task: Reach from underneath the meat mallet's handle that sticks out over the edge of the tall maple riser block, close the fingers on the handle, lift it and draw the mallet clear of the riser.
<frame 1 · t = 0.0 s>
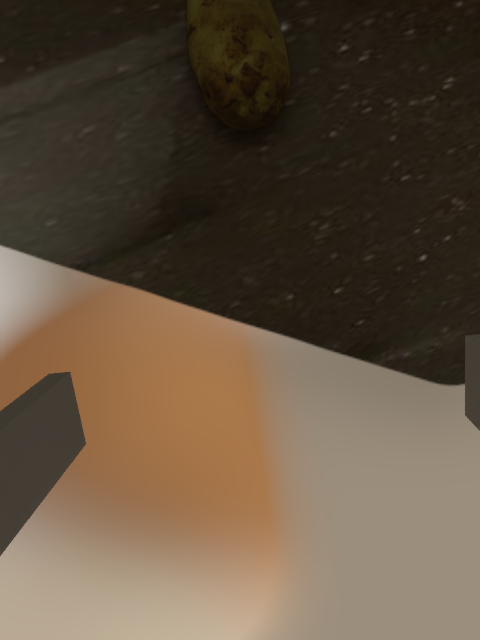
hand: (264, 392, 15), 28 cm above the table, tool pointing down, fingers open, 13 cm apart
potato: (241, 57, 38), on the table
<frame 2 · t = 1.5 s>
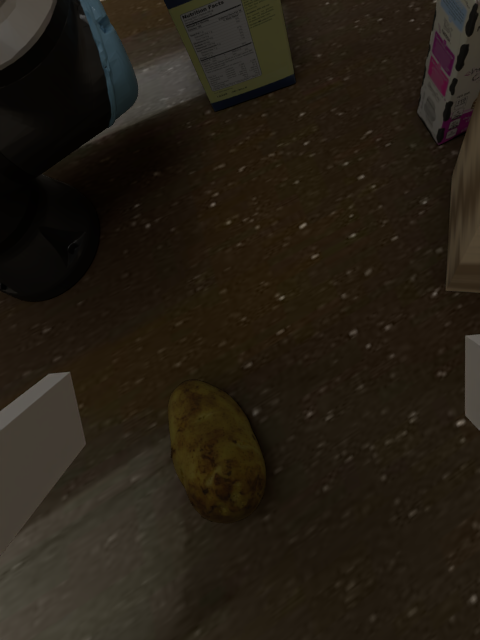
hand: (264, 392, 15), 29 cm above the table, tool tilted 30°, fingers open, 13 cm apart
candy bar box: (478, 107, 46), on the table
potato: (227, 444, 44), on the table
protein box: (243, 52, 56), on the table
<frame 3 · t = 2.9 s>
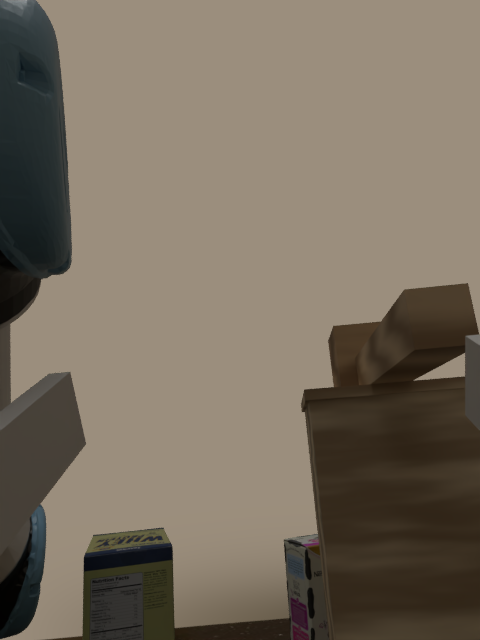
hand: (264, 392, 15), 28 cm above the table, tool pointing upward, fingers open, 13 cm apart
mallet: (402, 375, 30), point 30 cm above the table, touching riser
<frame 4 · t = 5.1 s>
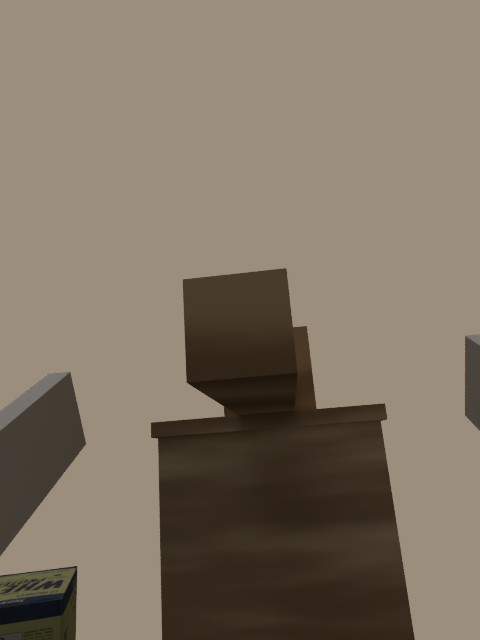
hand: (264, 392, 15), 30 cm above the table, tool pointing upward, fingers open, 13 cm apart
mallet: (262, 407, 21), point 30 cm above the table, touching riser
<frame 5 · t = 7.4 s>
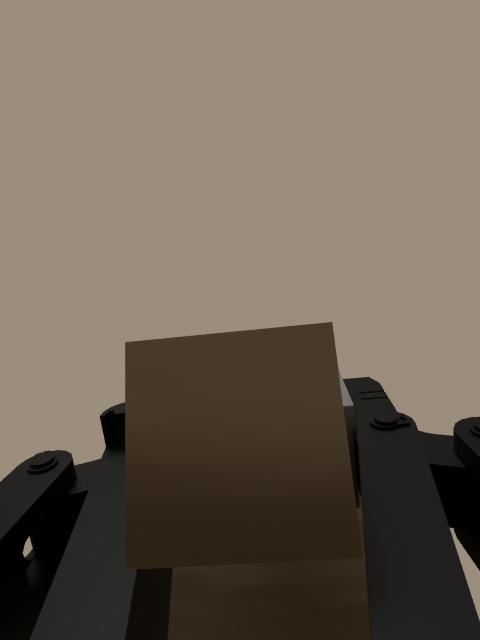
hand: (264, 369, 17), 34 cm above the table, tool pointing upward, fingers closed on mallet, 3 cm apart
mallet: (273, 492, 14), point 30 cm above the table, touching gripper
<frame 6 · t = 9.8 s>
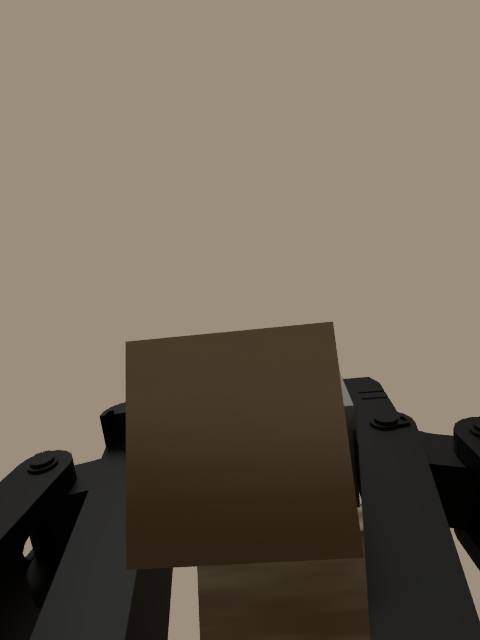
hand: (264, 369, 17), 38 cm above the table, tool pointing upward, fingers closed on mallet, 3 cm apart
mallet: (273, 492, 14), point 34 cm above the table, touching gripper
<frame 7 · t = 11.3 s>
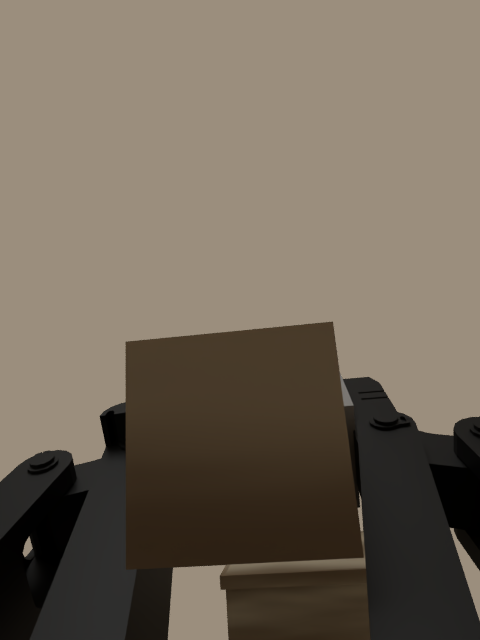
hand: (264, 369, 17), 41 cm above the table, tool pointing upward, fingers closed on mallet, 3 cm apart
mallet: (273, 492, 14), point 36 cm above the table, touching gripper
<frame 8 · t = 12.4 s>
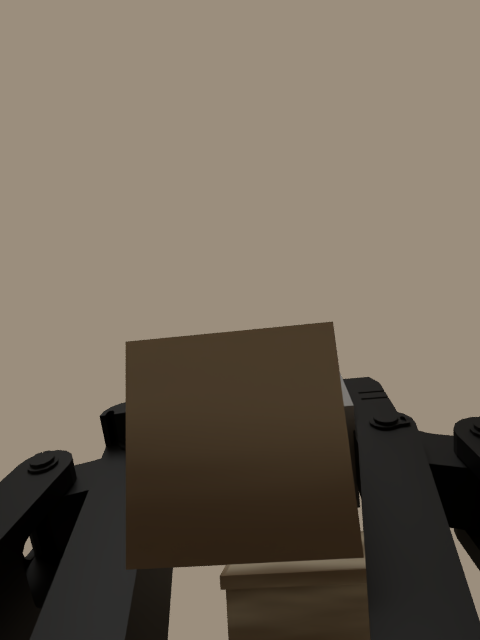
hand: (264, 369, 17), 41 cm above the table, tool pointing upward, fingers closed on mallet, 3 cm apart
mallet: (273, 492, 14), point 36 cm above the table, touching gripper
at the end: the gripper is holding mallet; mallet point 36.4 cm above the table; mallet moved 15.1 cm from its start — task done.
